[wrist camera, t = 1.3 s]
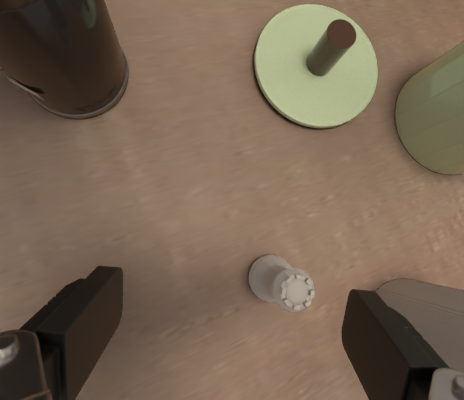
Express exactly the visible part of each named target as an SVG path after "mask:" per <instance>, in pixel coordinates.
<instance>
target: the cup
mask: <svg viewBox="0 0 464 400" xmlns="http://www.w3.org/2000/svg"><path fill="white" fill-rule="evenodd" d="M375 292H376V293H377V294H378V295H379V296H380V298H381V299H382V300H383V301H384V302H385V303H386V305H387V306H388V307H391V308H393V309H394V310H396V311H397V312H399V313H400V314H402V315H403V316H404V317H406V318H407V320H408V321H409V322H410V323H411V324H412V325H413V326H414V328H415V330H417V331H418V332H419V333H420V334H421V336H422V337H423V339H425V340H426V341H427V342H428V343H429V345H430V346H431V347H432V348H433V349H434V350H435V351H436V353H437V354H438V355H439V356H440V357H441V358H442V359H443V360H444V362H445V363H446V364H447V365H448V366H449V367H450V368H452V369H457V370H460V371H463V372H464V290H460V289H455V288H450V287H445V286H441V285H436V284H431V283H426V282H421V281H416V280H411V279H396V280H392V281H389V282H387V283H385V284H383V285H382V286H381V287H379V288H378V289H377V290H376V291H375Z"/></svg>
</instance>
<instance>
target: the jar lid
mask: <svg viewBox="0 0 464 400" xmlns="http://www.w3.org/2000/svg"><path fill="white" fill-rule="evenodd" d="M254 66H255V73H256V77H257V80H258V84H259V86H260V88H261V90H262V92H263V94H264V95H265V97H266V99H267V100H268V101H269V102H270V104H271V105H272V106H273V107H274V108H275V109H276V110H277V111H278V112H279V113H281V114H282V115H283V116H285V117H286V118H288V119H290V120H291V121H293V122H296V123H298V124H300V125H304V126H307V127H313V128H330V127H335V126H339V125H342V124H344V123H346V122H348V121H350V120H352V119H353V118H355V117H356V116H357V115H358V114H360V113H361V112H362V111H363V110H364V109H365V108H366V106H367V105H368V103H369V102H370V100H371V98H372V96H373V94H374V91H375V88H376V84H377V79H378V67H377V60H376V55H375V52H374V49H373V47H372V45H371V43H370V41H369V39H368V37H367V36H366V34H365V33H364V32H363V30H362V29H361V28H360V27H359V26H358V25H357V24H356V23H355V22H354V21H353V20H352V19H350V18H349V17H348V16H346V15H345V14H343V13H341V12H339V11H337V10H335V9H333V8H330V7H327V6H322V5H315V4H303V5H297V6H294V7H290V8H288V9H286V10H284V11H282V12H280V13H279V14H277V15H276V16H274V17H273V18H272V19H271V20H270V21H269V22H268V24H267V25H266V26H265V27H264V29H263V31H262V32H261V34H260V37H259V39H258V42H257V45H256V49H255V57H254Z"/></svg>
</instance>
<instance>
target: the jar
mask: <svg viewBox="0 0 464 400" xmlns="http://www.w3.org/2000/svg"><path fill="white" fill-rule="evenodd" d="M395 120H396V126H397V131H398V134H399V137H400V139H401V141H402V143H403V145H404V146H405V148H406V150H407V151H408V152H409V153H410V155H411V156H412V157H413V158H414V159H415V160H416V161H417V162H419V163H420V164H421V165H423V166H424V167H426V168H428V169H430V170H432V171H434V172H437V173H441V174H447V175H457V174H461V173H464V41H462V42H461V43H460V44H458V45H457V46H455V47H454V48H452V49H451V50H450V51H448V52H447V53H445V54H444V55H442V56H441V57H439V58H438V59H437V60H435V61H434V62H432V63H431V64H429V65H428V66H427V67H425V68H424V69H422V70H421V71H419V72H418V73H417V74H415V75H414V76H412V77H411V78H410V79H409V80H408V81H407V82H406V83H405V85H404V86H403V88H402V89H401V91H400V93H399V95H398V99H397V102H396V108H395Z"/></svg>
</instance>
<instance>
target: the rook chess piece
mask: <svg viewBox="0 0 464 400" xmlns="http://www.w3.org/2000/svg"><path fill="white" fill-rule="evenodd" d="M249 284H250V287H251V290H252V291H253V293H254V294H255V295H256V296H257V297H258V298H260V299H262V300H264V301H266V302H273V303H278V304H279V306H280V307H281V308H283V309H285V310H286V311H289V312H298V311H301V310H303V309H305V308H307V307H308V306H309V305H310V304H311V301H312V298H313V297H314V294H315V290H314V285H313V282H312V279H311V278H310V276H309V275H308V274H307V273H306V272H304V271H302V270H301V269H295V268H292V267H291V265H290V264H289V263H288V262H287V261H286V260H284V259H282V258H281V257H279V256H275V255H267V256H263V257H260V258H259V259H258V260H257V261H256V262H254V263H253V265H252V267H251V269H250V271H249Z"/></svg>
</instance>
